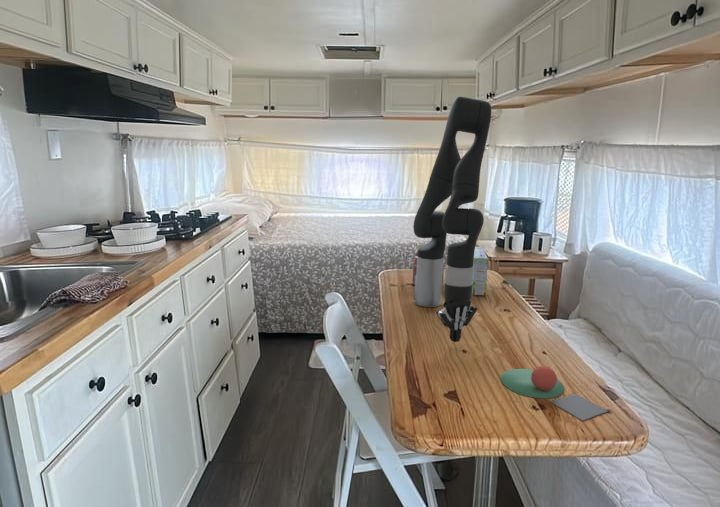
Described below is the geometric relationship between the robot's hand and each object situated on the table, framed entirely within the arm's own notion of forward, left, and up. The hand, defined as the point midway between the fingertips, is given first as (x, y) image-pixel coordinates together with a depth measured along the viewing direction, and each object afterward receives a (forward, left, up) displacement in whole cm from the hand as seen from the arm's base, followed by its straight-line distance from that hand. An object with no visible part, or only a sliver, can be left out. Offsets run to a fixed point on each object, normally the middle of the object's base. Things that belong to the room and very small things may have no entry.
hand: (454, 340), depth 128 cm
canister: (-54, +29, -2) cm, 61 cm away
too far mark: (+37, +4, -2) cm, 37 cm away
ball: (+28, +3, +1) cm, 28 cm away
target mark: (+25, +3, -2) cm, 25 cm away
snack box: (-42, +44, -2) cm, 61 cm away
